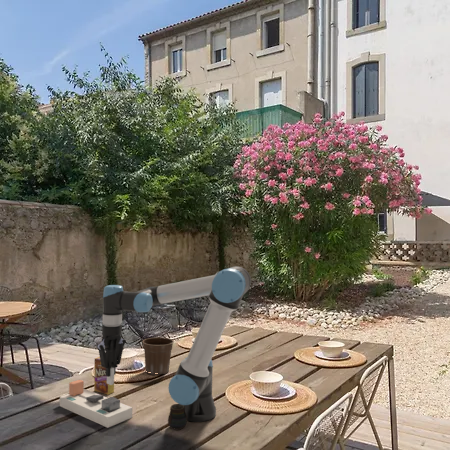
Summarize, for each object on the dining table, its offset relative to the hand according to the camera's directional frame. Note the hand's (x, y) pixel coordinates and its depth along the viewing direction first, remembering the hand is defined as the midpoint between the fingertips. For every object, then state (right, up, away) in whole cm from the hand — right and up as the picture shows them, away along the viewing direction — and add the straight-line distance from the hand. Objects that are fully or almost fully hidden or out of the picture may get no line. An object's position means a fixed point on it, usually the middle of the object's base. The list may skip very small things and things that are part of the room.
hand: (110, 383), depth 178 cm
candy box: (-10, -14, +28) cm, 33 cm away
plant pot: (+10, -14, +58) cm, 60 cm away
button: (0, -10, 0) cm, 10 cm away
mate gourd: (+27, -14, -7) cm, 32 cm away
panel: (-8, -14, +6) cm, 17 cm away
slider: (-18, -9, +14) cm, 25 cm away
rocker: (-8, -9, +6) cm, 13 cm away
